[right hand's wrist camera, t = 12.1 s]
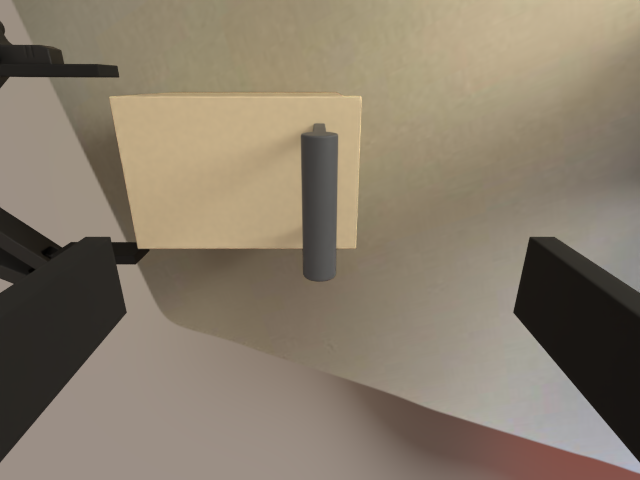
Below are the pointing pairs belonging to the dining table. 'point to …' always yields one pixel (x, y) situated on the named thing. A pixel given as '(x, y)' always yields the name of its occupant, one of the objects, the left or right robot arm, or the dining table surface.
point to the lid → (243, 173)
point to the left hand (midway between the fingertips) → (127, 170)
